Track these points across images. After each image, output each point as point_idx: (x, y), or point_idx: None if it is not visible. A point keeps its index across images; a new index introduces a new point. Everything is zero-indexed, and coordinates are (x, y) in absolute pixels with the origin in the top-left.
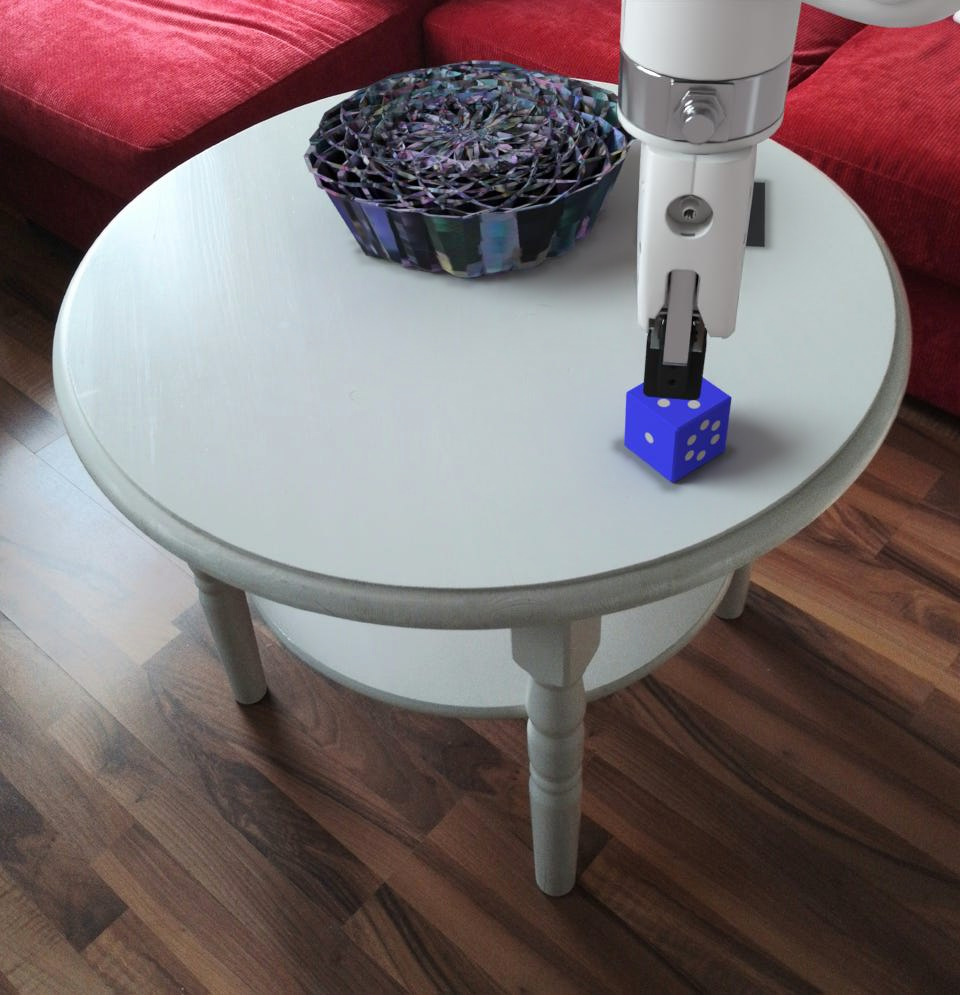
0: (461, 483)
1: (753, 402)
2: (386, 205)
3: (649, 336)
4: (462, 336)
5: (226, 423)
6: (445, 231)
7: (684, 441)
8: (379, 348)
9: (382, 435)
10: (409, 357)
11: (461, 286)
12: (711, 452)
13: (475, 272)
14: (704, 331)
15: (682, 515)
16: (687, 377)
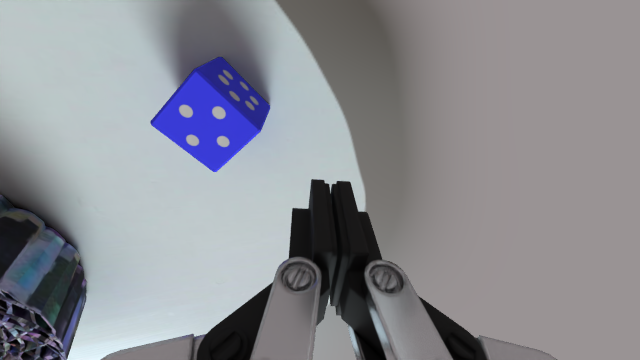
0: (284, 232)
1: (137, 16)
2: (60, 349)
3: (338, 313)
4: (143, 244)
5: None
6: (57, 303)
7: (257, 114)
8: (174, 278)
9: (250, 268)
10: (177, 265)
11: (87, 249)
12: (234, 74)
13: (69, 249)
14: (328, 256)
15: (304, 99)
16: (372, 231)
